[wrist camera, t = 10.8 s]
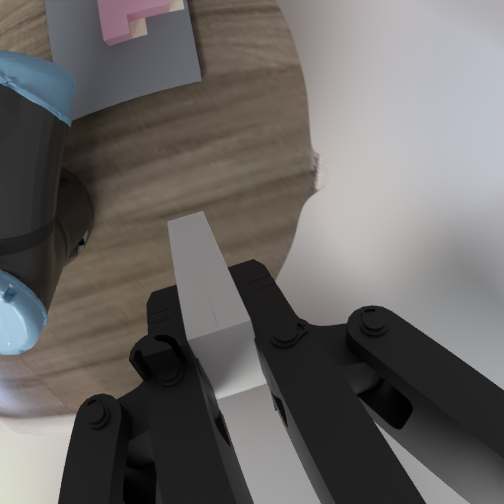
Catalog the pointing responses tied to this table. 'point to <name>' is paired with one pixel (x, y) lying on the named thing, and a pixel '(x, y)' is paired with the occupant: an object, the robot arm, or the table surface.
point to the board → (121, 54)
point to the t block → (126, 16)
